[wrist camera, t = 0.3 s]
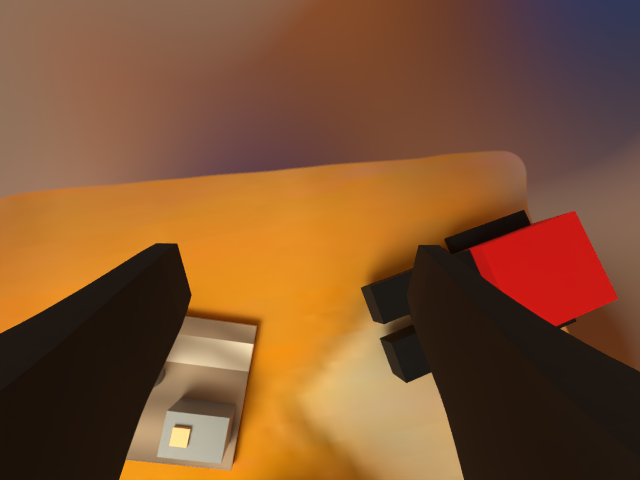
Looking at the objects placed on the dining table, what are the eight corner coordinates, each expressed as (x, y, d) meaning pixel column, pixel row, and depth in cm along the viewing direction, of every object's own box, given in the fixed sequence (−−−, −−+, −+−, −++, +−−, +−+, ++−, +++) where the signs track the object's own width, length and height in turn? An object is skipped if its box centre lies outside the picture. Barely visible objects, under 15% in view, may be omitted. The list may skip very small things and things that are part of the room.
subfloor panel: (232, 464, 34) (230, 470, 33) (120, 452, 33) (114, 458, 32) (257, 325, 37) (256, 326, 36) (155, 311, 36) (150, 311, 35)
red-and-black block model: (367, 266, 31) (566, 194, 35) (351, 272, 39) (514, 213, 43) (423, 410, 29) (627, 317, 33) (393, 386, 37) (560, 313, 41)
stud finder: (228, 444, 33) (220, 465, 29) (172, 437, 33) (154, 459, 28) (236, 404, 34) (228, 419, 30) (181, 397, 33) (165, 412, 29)
